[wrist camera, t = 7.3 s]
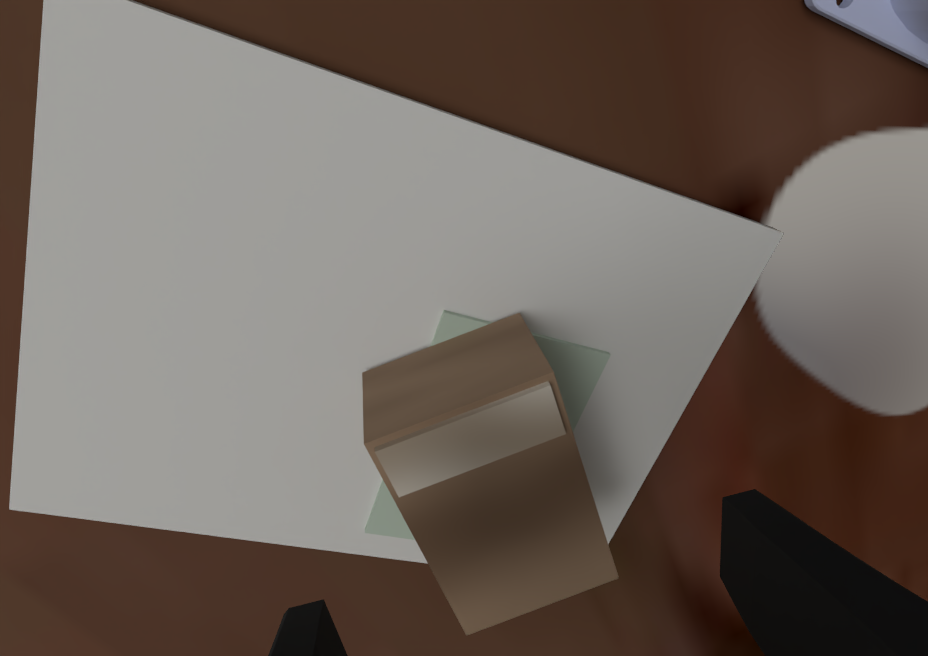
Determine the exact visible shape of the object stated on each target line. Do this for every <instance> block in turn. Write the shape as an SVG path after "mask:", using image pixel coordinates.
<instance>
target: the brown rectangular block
mask: <svg viewBox="0 0 928 656" xmlns="http://www.w3.org/2000/svg"><path fill="white" fill-rule="evenodd" d="M362 387H363V434H364V445H365V447H366V449H367V451H368V453H369V455H370V457H371V458H372V460H373V462H374V464H375V466H376V468H377V470H378V471H379V473H380V475H381V477H382V479H383V481H384V483H385V484H386V486H387V488H388V490H389V492H390V494H391V496H392V498H393V499H394V501H395V503H396V505H397V507H398V509H399V511H400V512H401V514H402V516H403V518H404V520H405V522H406V524H407V525H408V527H409V529H410V531H411V533H412V535H413V537H414V538H415V540H416V542H417V544H418V546H419V548H420V550H421V551H422V553H423V555H424V557H425V559H426V561H427V563H428V564H429V566H430V568H431V570H432V572H433V574H434V576H435V578H436V579H437V581H438V583H439V585H440V587H441V589H442V591H443V592H444V594H445V596H446V598H447V600H448V602H449V604H450V605H451V607H452V609H453V611H454V613H455V615H456V617H457V618H458V620H459V622H460V624H461V626H462V628H463V630H464V631H465V633H466V635H469V634H472V633H475V632H477V631H480V630H483V629H485V628H488V627H490V626H493V625H496V624H498V623H501V622H504V621H506V620H509V619H512V618H514V617H517V616H520V615H522V614H525V613H528V612H530V611H533V610H536V609H538V608H541V607H543V606H546V605H549V604H551V603H554V602H557V601H559V600H562V599H565V598H567V597H570V596H573V595H575V594H578V593H581V592H583V591H586V590H588V589H591V588H594V587H596V586H599V585H602V584H604V583H607V582H610V581H612V580H615V579H618V578H619V577H618V574H617V571H616V568H615V564H614V561H613V558H612V555H611V552H610V549H609V545H608V542H607V539H606V536H605V533H604V530H603V526H602V523H601V520H600V517H599V514H598V511H597V507H596V504H595V501H594V498H593V495H592V492H591V488H590V485H589V482H588V479H587V476H586V473H585V469H584V466H583V463H582V460H581V457H580V454H579V450H578V447H577V444H576V441H575V438H574V434H573V431H572V428H571V425H570V422H569V419H568V415H567V412H566V409H565V406H564V403H563V400H562V396H561V393H560V390H559V387H558V384H557V381H556V377H555V374H554V371H553V370H552V368H551V366H550V364H549V363H548V361H547V359H546V358H545V356H544V354H543V352H542V351H541V349H540V347H539V346H538V344H537V342H536V340H535V339H534V337H533V335H532V333H531V332H530V330H529V328H528V327H527V325H526V323H525V321H524V320H523V318H522V316H521V315H520V313H517V314H514V315H512V316H509V317H507V318H504V319H501V320H499V321H496V322H493V323H491V324H488V325H486V326H483V327H480V328H478V329H475V330H472V331H470V332H467V333H465V334H462V335H459V336H457V337H454V338H451V339H449V340H446V341H444V342H441V343H438V344H436V345H433V346H431V347H428V348H425V349H423V350H420V351H417V352H415V353H412V354H410V355H407V356H404V357H402V358H399V359H396V360H394V361H391V362H389V363H386V364H383V365H381V366H378V367H375V368H373V369H370V370H368V371H365V372H362Z"/></svg>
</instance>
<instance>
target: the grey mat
mask: <svg viewBox="0 0 928 656" xmlns="http://www.w3.org/2000/svg"><path fill="white" fill-rule="evenodd" d="M783 235H784V233H783V232H781V231H779V230H777V229H775V228H773V227H770V226H767V225H764V224H761V223H759V222H756V221H753V220H750V219H747V218H744V217H742V216H739V215H736V214H733V213H730V212H728V211H725V210H722V209H719V208H716V207H713V206H711V205H708V204H705V203H702V202H699V201H697V200H694V199H691V198H688V197H685V196H682V195H680V194H677V193H674V192H671V191H668V190H666V189H663V188H660V187H657V186H654V185H651V184H649V183H646V182H643V181H640V180H637V179H635V178H632V177H629V176H626V175H623V174H620V173H618V172H615V171H612V170H609V169H606V168H604V167H601V166H598V165H595V164H592V163H589V162H587V161H584V160H581V159H578V158H575V157H573V156H570V155H567V154H564V153H561V152H558V151H556V150H553V149H550V148H547V147H544V146H542V145H539V144H536V143H533V142H530V141H527V140H525V139H522V138H519V137H516V136H513V135H511V134H508V133H505V132H502V131H499V130H497V129H494V128H491V127H488V126H485V125H482V124H480V123H477V122H474V121H471V120H468V119H466V118H463V117H460V116H457V115H454V114H451V113H449V112H446V111H443V110H440V109H437V108H435V107H432V106H429V105H426V104H423V103H420V102H418V101H415V100H412V99H409V98H406V97H404V96H401V95H398V94H395V93H392V92H389V91H387V90H384V89H381V88H378V87H375V86H373V85H370V84H367V83H364V82H361V81H358V80H356V79H353V78H350V77H347V76H344V75H342V74H339V73H336V72H333V71H330V70H327V69H325V68H322V67H319V66H316V65H313V64H311V63H308V62H305V61H302V60H299V59H296V58H294V57H291V56H288V55H285V54H282V53H280V52H277V51H274V50H271V49H268V48H265V47H263V46H260V45H257V44H254V43H251V42H249V41H246V40H243V39H240V38H237V37H235V36H232V35H229V34H226V33H223V32H220V31H218V30H215V29H212V28H209V27H206V26H204V25H201V24H198V23H195V22H192V21H189V20H187V19H184V18H181V17H178V16H175V15H173V14H170V13H167V12H164V11H161V10H158V9H156V8H153V7H150V6H147V5H144V4H142V3H139V2H136V1H133V0H44V2H43V17H42V32H41V47H40V61H39V76H38V91H37V106H36V120H35V135H34V150H33V165H32V180H31V194H30V209H29V224H28V239H27V253H26V268H25V283H24V298H23V313H22V327H21V342H20V357H19V372H18V386H17V401H16V416H15V431H14V446H13V460H12V475H11V490H10V505H9V509H10V510H18V511H26V512H34V513H41V514H49V515H57V516H65V517H72V518H80V519H88V520H95V521H103V522H111V523H119V524H126V525H134V526H142V527H150V528H157V529H165V530H173V531H181V532H188V533H196V534H204V535H212V536H219V537H227V538H235V539H243V540H250V541H258V542H266V543H274V544H281V545H289V546H297V547H305V548H312V549H320V550H328V551H336V552H343V553H351V554H359V555H367V556H374V557H382V558H390V559H398V560H405V561H413V562H421V563H427V561H426V559H425V557H424V555H423V553H422V551H421V550H420V548H419V546H418V544H417V542H416V540H415V538H414V537H413V535H412V533H411V531H410V529H409V527H408V525H407V524H406V522H405V520H404V518H403V516H402V514H401V512H400V511H399V509H398V507H397V505H396V503H395V501H394V499H393V498H392V496H391V494H390V492H389V490H388V488H387V486H386V484H385V483H384V481H383V479H382V477H381V475H380V473H379V471H378V470H377V468H376V466H375V464H374V462H373V460H372V458H371V457H370V455H369V453H368V451H367V449H366V447H365V445H364V434H363V387H362V372H365V371H368V370H370V369H373V368H375V367H378V366H381V365H383V364H386V363H389V362H391V361H394V360H396V359H399V358H402V357H404V356H407V355H410V354H412V353H415V352H417V351H420V350H423V349H425V348H428V347H431V346H433V345H436V344H438V343H441V342H444V341H446V340H449V339H451V338H454V337H457V336H459V335H462V334H465V333H467V332H470V331H472V330H475V329H478V328H480V327H483V326H486V325H488V324H491V323H493V322H496V321H499V320H501V319H504V318H507V317H509V316H512V315H514V314H517V313H520V315H521V316H522V318H523V320H524V321H525V323H526V325H527V327H528V328H529V330H530V332H531V333H532V335H533V337H534V339H535V340H536V342H537V344H538V346H539V347H540V349H541V351H542V352H543V354H544V356H545V358H546V359H547V361H548V363H549V364H550V366H551V368H552V370H553V371H554V374H555V377H556V381H557V384H558V387H559V390H560V393H561V396H562V400H563V403H564V406H565V409H566V412H567V415H568V419H569V422H570V425H571V428H572V431H573V434H574V438H575V441H576V444H577V447H578V450H579V454H580V457H581V460H582V463H583V466H584V469H585V473H586V476H587V479H588V482H589V485H590V488H591V492H592V495H593V498H594V501H595V504H596V507H597V511H598V514H599V517H600V520H601V523H602V526H603V530H604V533H605V536H606V539H607V542H608V544H609V542H610V540H611V538H612V537H613V535H614V533H615V531H616V530H617V528H618V526H619V524H620V523H621V521H622V519H623V517H624V515H625V514H626V512H627V510H628V508H629V507H630V505H631V503H632V501H633V500H634V498H635V496H636V494H637V492H638V491H639V489H640V487H641V485H642V484H643V482H644V480H645V478H646V477H647V475H648V473H649V471H650V470H651V468H652V466H653V464H654V462H655V461H656V459H657V457H658V455H659V454H660V452H661V450H662V448H663V447H664V445H665V443H666V441H667V439H668V438H669V436H670V434H671V432H672V431H673V429H674V427H675V425H676V424H677V422H678V420H679V418H680V416H681V415H682V413H683V411H684V409H685V408H686V406H687V404H688V402H689V401H690V399H691V397H692V395H693V394H694V392H695V390H696V388H697V386H698V385H699V383H700V381H701V379H702V378H703V376H704V374H705V372H706V371H707V369H708V367H709V365H710V363H711V362H712V360H713V358H714V356H715V355H716V353H717V351H718V349H719V348H720V346H721V344H722V342H723V341H724V339H725V337H726V335H727V333H728V332H729V330H730V328H731V326H732V325H733V323H734V321H735V319H736V318H737V316H738V314H739V312H740V310H741V309H742V307H743V305H744V303H745V302H746V300H747V298H748V296H749V295H750V293H751V291H752V289H753V288H754V286H755V284H756V282H757V280H758V279H759V277H760V275H761V273H762V272H763V270H764V268H765V266H766V265H767V263H768V261H769V259H770V257H771V256H772V254H773V252H774V250H775V249H776V247H777V245H778V243H779V242H780V240H781V238H782V236H783Z"/></svg>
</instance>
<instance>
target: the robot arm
mask: <svg viewBox="0 0 928 656" xmlns="http://www.w3.org/2000/svg"><path fill="white" fill-rule="evenodd" d="M804 1H805V4H806V6H807V7H808V8H809V9H810V10H811V11H813V12H815V13H817V14H819V15H821V16H823V17H825V18H827V19H830V20H832V21H834V22H836V23H838V24H840V25H842V26H844V27H846V28H848V29H850V30H852V31H854V32H856V33H858V34H860V35H862V36H864V37H866V38H868V39H870V40H872V41H874V42H876V43H878V44H880V45H882V46H884V47H886V48H888V49H890V50H892V51H894V52H896V53H898V54H900V55H902V56H904V57H906V58H908V59H910V60H912V61H914V62H916V63H918V64H920V65H922V66H924V67H926V68H928V0H843V1H842V3H841V4H840V5H839V6H837V4H836V0H804ZM720 577H721V579H722V581H723V583H724V585H725V587H726V589H727V591H728V593H729V595H730V596H731V598H732V600H733V602H734V604H735V606H736V608H737V610H738V612H739V613H740V615H741V617H742V619H743V621H744V623H745V624H746V626H747V628H748V630H749V632H750V633H751V635H752V636H753V638H754V639H755V641H756V642H757V644H758V645H759V647H760V648H761V650H762V651H763V653H764V654H765V656H928V602H927V601H926V600H924V599H922V598H921V597H919V596H917V595H916V594H914V593H912V592H911V591H909V590H907V589H906V588H904V587H903V586H901V585H899V584H898V583H896V582H894V581H893V580H891V579H890V578H888V577H887V576H885V575H883V574H882V573H880V572H879V571H877V570H876V569H874V568H872V567H871V566H869V565H868V564H866V563H865V562H863V561H861V560H860V559H858V558H857V557H855V556H854V555H852V554H851V553H849V552H848V551H846V550H845V549H843V548H842V547H840V546H838V545H837V544H835V543H834V542H832V541H831V540H829V539H828V538H827V537H825V536H824V535H822V534H821V533H819V532H818V531H816V530H815V529H813V528H812V527H810V526H809V525H807V524H806V523H804V522H803V521H801V520H800V519H798V518H797V517H795V516H794V515H793V514H791V513H790V512H788V511H787V510H785V509H784V508H782V507H781V506H779V505H778V504H776V503H775V502H773V501H772V500H770V499H769V498H767V497H766V496H764V495H763V494H761V493H760V492H758V491H757V490H755V489H754V490H750V491H746V492H742V493H738V494H734V495H730V496H726V497H723V500H722V529H721V559H720ZM268 656H347V654H346V651H345V649H344V647H343V644H342V642H341V639H340V637H339V635H338V632H337V630H336V628H335V625H334V623H333V621H332V618H331V616H330V613H329V611H328V609H327V606H326V604H325V602H324V600H320V601H316V602H312V603H308V604H304V605H300V606H296V607H292V608H288V610H287V611H286V613H285V614H284V616H283V619H282V621H281V624H280V627H279V629H278V632H277V635H276V637H275V640H274V642H273V645H272V648H271V650H270V653H269V655H268Z"/></svg>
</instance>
